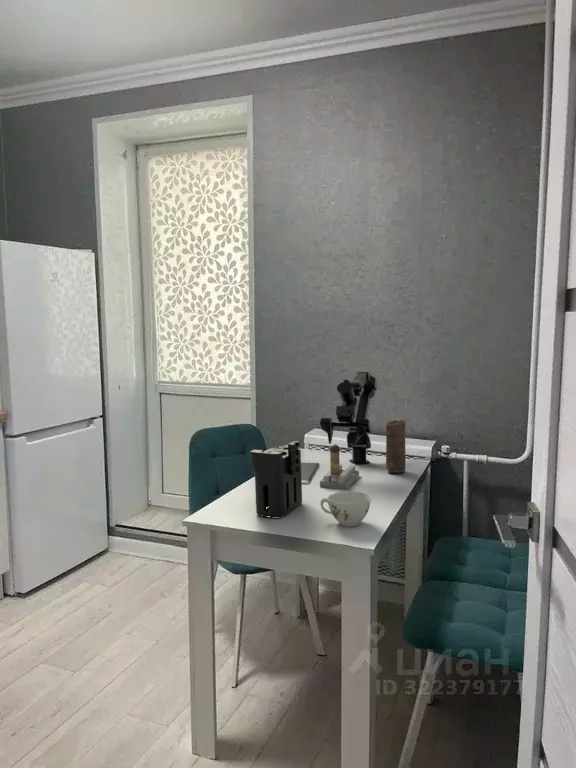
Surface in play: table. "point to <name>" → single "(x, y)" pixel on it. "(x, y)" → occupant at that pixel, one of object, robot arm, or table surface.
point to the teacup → (348, 507)
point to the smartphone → (308, 471)
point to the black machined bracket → (277, 479)
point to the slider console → (341, 478)
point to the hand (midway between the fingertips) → (341, 444)
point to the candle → (395, 446)
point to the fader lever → (334, 462)
